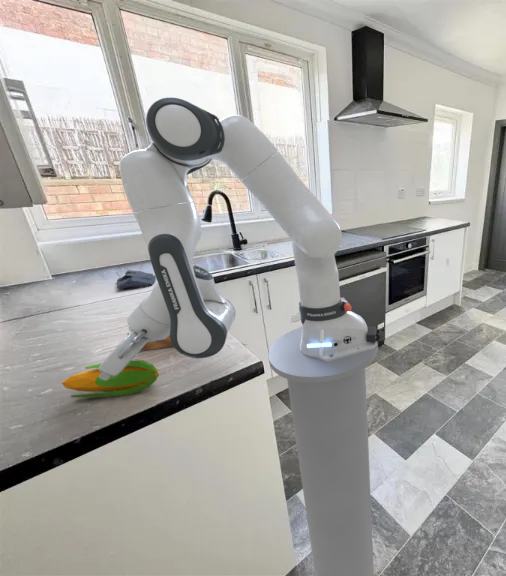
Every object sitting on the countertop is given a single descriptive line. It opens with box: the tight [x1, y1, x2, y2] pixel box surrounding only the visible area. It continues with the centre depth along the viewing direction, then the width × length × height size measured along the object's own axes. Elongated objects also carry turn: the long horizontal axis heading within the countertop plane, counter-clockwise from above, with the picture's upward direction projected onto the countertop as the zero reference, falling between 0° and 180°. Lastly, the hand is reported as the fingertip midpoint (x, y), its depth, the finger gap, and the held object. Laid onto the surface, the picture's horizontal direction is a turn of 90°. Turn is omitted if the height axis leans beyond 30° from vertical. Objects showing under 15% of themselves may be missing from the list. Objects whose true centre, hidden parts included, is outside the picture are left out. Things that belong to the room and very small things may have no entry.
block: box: [126, 331, 174, 352], centre depth 95 cm, size 16×10×6 cm, turn 106°
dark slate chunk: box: [116, 269, 156, 289], centre depth 151 cm, size 15×22×5 cm
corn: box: [61, 359, 160, 399], centre depth 72 cm, size 7×8×20 cm
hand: (115, 365), depth 71 cm, fingers open, 8 cm apart
